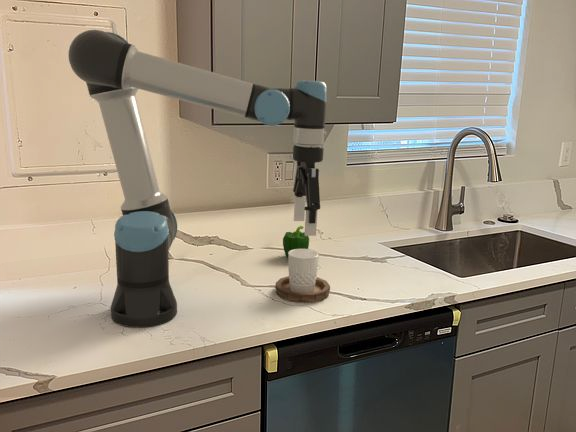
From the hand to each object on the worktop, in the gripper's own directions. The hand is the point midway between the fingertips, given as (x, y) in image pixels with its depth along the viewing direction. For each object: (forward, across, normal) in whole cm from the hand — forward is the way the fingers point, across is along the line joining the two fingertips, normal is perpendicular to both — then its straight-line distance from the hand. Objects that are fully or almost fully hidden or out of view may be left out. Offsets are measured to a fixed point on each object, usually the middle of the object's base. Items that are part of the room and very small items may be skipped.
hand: (304, 227), depth 145 cm
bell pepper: (+18, +28, -4) cm, 34 cm away
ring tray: (+18, 0, 0) cm, 18 cm away
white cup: (+17, 0, 0) cm, 17 cm away
